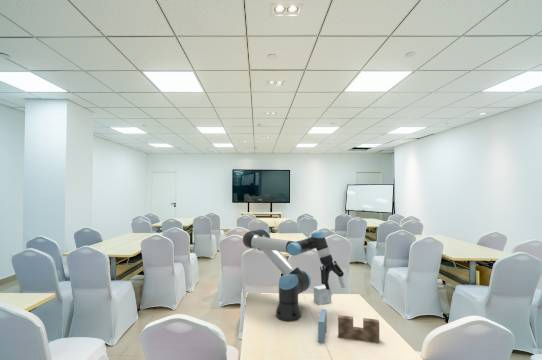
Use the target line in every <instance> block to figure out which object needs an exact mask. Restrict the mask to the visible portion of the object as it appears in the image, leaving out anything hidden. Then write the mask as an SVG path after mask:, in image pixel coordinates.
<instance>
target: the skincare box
mask: <svg viewBox="0 0 542 360" xmlns="http://www.w3.org/2000/svg"><path fill="white" fill-rule="evenodd" d="M313 303H315V304H317V305H318V306H321V305H327V304H331V303H332V295H329V294H328V291H327V289H326V287H325V284H322V285H316V286H313Z"/></svg>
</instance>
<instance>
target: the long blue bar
mask: <svg viewBox="0 0 542 360" xmlns="http://www.w3.org/2000/svg"><path fill="white" fill-rule="evenodd" d="M327 313H328V311H327V309H326V308H325V309H324V308H321V309H320V312H319V316H318V320H317V323H318V324H317V331H318V332H317V340H318V341H317V342H318V343H322V344H323V343H325V341H326V333H327V328H328V327H327V326H328V325H327V323H328V320H327V319H328V318H327V315H328V314H327Z"/></svg>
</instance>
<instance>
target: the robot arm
mask: <svg viewBox="0 0 542 360" xmlns="http://www.w3.org/2000/svg"><path fill="white" fill-rule="evenodd" d="M310 235H311V236H310V237H308V238H304V239H301V240H297V241H293V240H287V239H281V238H273V237H271V234H270V232H269V231H267V230H266V229H263V228H262V229H261V228H260V229H254V230H249V231H247V232H245V233H244V235H243V237H242V243H243V245H244V247H246V248H248V249H252V250H256V249H257V250H258V251H259V252H263V253H264V254H265V256H266V257H268V258H269V260H270V262H272V263H273V264H274V266H276V268H277V269H278V270H279V271H280V272H281V274H283V275H282V276H280V277H279V280H278V304H277V307H276V311H275V316H276V318H277V319H278V320H281V321H284V322H294V321H298V320H301V317H302V312H301V308H300V305H299V295H300V294H301V293H303V292H305V291H307V290H308V289H309V288H310V286H311V285H312V284H311V283H312V278H311V276H310V274H309V273H308V272H306V271H305V270H301V269H300V268H299V267H298V266H294V265H293V264H292V263H291V262H290V261H289V260H288V259H287V257H286V256H285V255H284V254H283V253H286V254H289V255H290V256H292V257H293V256H298V255H301V254H303V253H306V252H309V251H311V250H316V253H317V255H318V258H319V261H320V264H321V265H322V266H320V267H319V269H320V279H321V283H320V284H322V285H325V287H326V289H327V291H328V294H329V295H331V296H333V295H334V292H333V290H332V287H331V284H330V282H329V277H330V272H333V273H334V274H335V275H336V276H338V277H337V279H338V282H339V284H340V287H341V289H345V288H347V286H346V283H345V279H344V278H343V277H344V274H345V273H344V271H343V270H342V269H341V266H339V264H338V263H337V261H336V260H334V259H333V256H332V254H331V251H330V249H329V245H328V242H327V240H326V236H325V234H324V233H323V230H317V231H314V232H312V233H311V234H310Z"/></svg>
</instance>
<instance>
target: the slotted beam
mask: <svg viewBox="0 0 542 360" xmlns="http://www.w3.org/2000/svg"><path fill="white" fill-rule="evenodd" d="M337 315H338V316H337V324H338V325H337V328H338V329H337V333H338V335H337V336H338V338H343V339H349V340H356V341H364V342H369V343H376V344H380V320H379V319H374V318H366V317H363V318H362V322H363V323H362V325H363V326H362V327H358V326H354V316H350V315H349V316H348V315H342V314H337Z"/></svg>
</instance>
